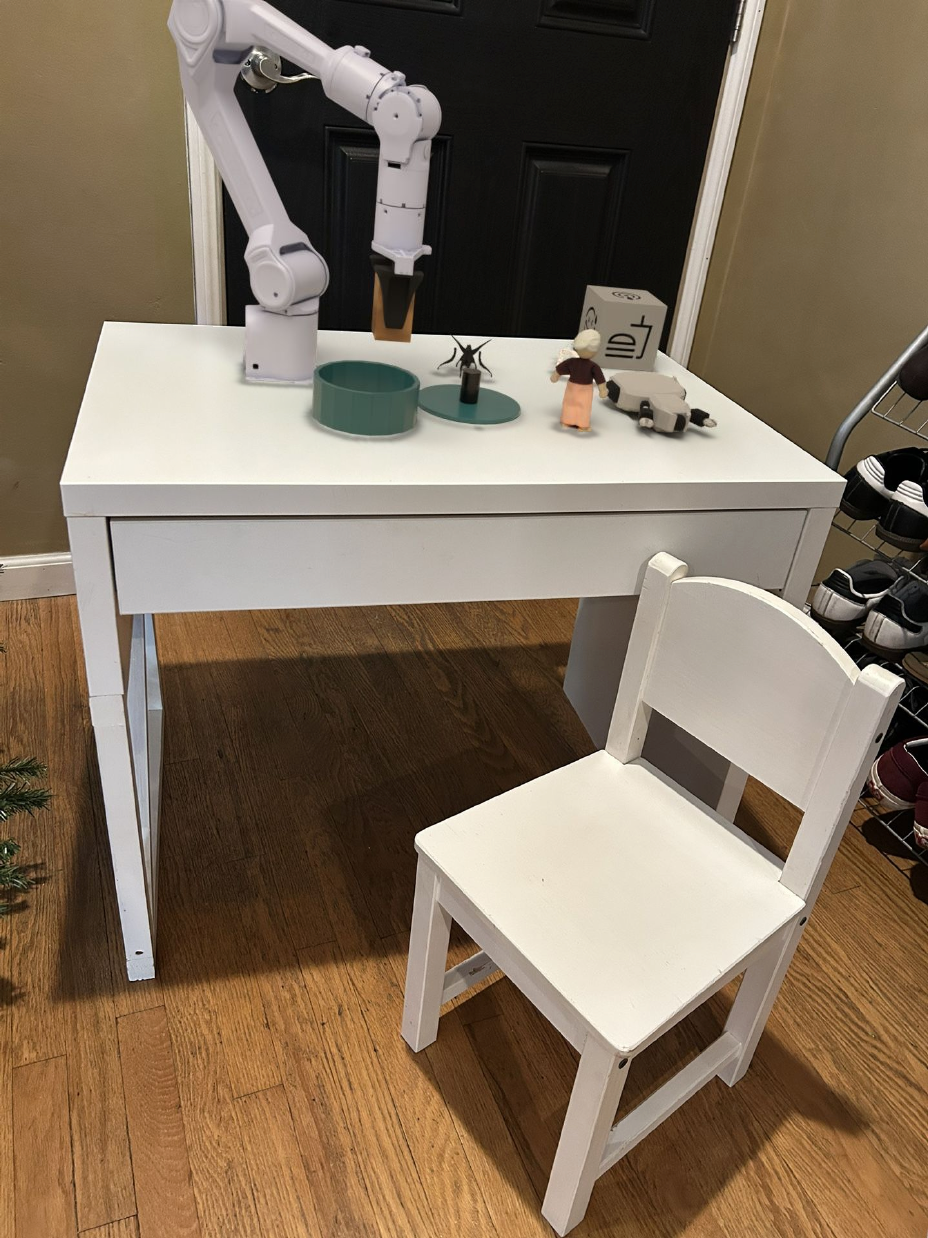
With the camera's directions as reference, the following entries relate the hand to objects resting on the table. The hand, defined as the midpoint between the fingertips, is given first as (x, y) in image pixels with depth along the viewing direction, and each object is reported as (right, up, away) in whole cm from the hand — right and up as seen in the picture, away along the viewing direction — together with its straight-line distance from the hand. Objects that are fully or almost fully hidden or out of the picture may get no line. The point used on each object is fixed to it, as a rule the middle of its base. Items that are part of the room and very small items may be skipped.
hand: (391, 322), depth 116 cm
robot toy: (+34, -10, +11) cm, 37 cm away
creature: (+9, -2, +18) cm, 21 cm away
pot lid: (+9, -9, +5) cm, 14 cm away
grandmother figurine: (+23, -13, +4) cm, 26 cm away
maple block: (0, -1, +1) cm, 2 cm away
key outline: (+25, +1, +26) cm, 36 cm away
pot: (-3, -13, -2) cm, 13 cm away
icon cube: (+33, +5, +35) cm, 48 cm away
